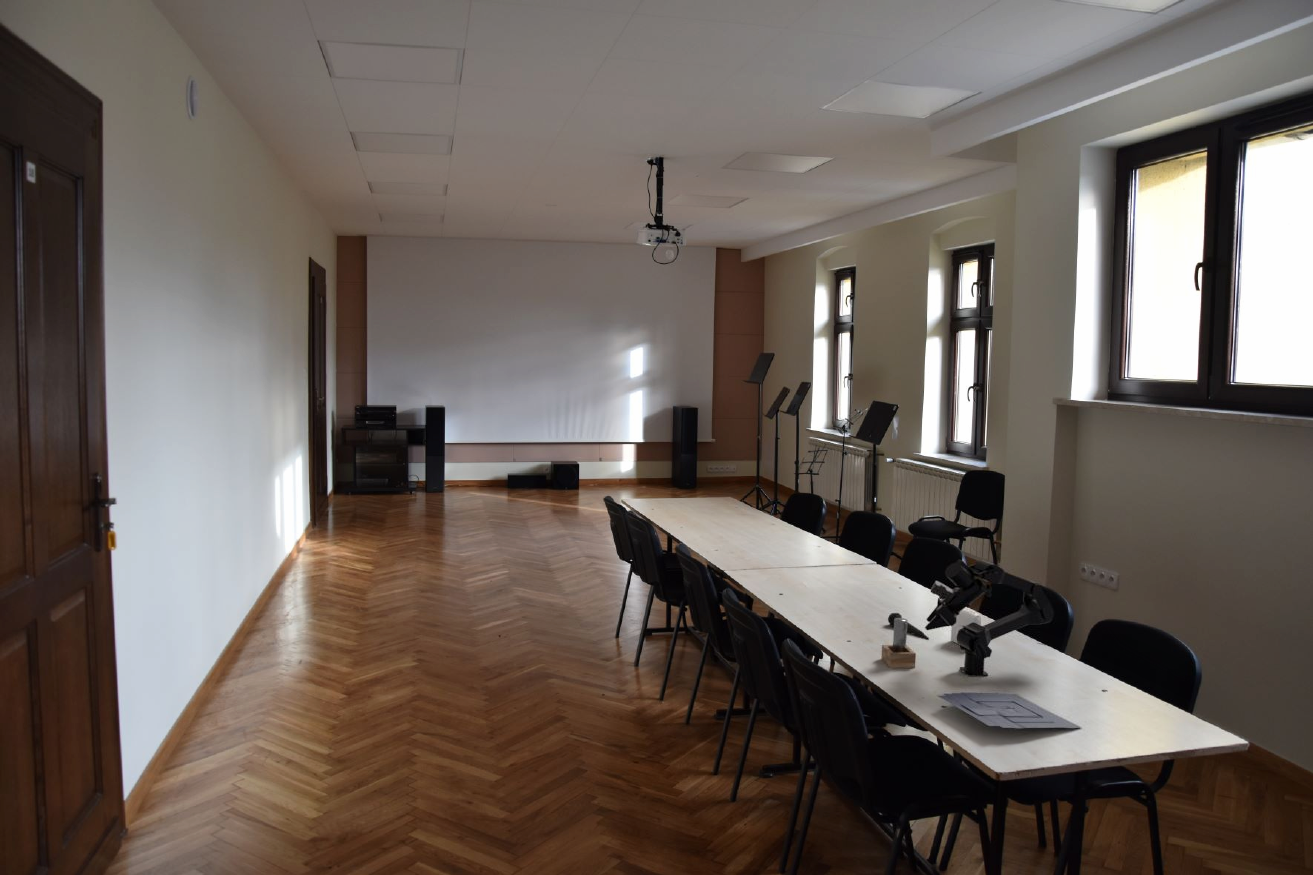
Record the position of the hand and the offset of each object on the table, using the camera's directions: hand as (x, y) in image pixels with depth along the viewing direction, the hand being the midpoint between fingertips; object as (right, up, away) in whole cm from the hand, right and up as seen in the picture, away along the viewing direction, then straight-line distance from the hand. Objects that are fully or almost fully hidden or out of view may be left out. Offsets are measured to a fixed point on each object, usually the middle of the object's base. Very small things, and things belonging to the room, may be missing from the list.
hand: (926, 624), depth 272 cm
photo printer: (+20, -12, +24) cm, 34 cm away
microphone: (+4, -11, +36) cm, 38 cm away
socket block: (-8, -13, +4) cm, 16 cm away
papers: (+10, -18, -36) cm, 41 cm away
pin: (-8, -11, +4) cm, 14 cm away
